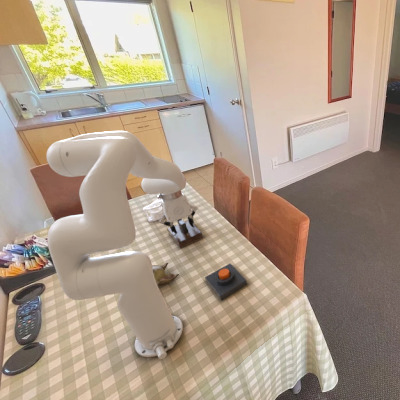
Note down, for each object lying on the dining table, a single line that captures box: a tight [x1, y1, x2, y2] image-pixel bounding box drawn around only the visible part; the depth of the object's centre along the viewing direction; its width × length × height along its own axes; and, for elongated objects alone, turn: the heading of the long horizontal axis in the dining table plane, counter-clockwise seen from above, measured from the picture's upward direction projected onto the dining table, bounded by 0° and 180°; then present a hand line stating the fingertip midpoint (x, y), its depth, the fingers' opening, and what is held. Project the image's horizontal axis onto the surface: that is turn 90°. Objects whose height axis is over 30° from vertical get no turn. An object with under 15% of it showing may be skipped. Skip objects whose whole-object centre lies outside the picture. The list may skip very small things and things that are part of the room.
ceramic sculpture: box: [152, 262, 180, 286], centre depth 94 cm, size 11×9×15 cm
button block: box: [205, 263, 248, 301], centre depth 96 cm, size 12×10×4 cm
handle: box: [176, 218, 188, 234], centre depth 118 cm, size 6×2×5 cm, turn 44°
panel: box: [167, 219, 204, 249], centre depth 120 cm, size 14×10×3 cm
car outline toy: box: [142, 190, 183, 223], centre depth 136 cm, size 20×11×7 cm, turn 137°
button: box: [218, 269, 230, 280], centre depth 94 cm, size 4×4×2 cm
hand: (183, 228), depth 119 cm, fingers open, 6 cm apart
